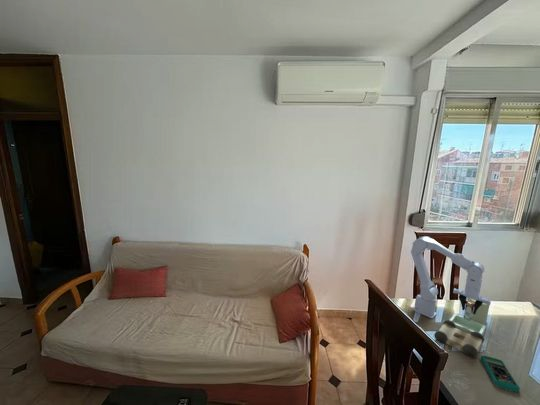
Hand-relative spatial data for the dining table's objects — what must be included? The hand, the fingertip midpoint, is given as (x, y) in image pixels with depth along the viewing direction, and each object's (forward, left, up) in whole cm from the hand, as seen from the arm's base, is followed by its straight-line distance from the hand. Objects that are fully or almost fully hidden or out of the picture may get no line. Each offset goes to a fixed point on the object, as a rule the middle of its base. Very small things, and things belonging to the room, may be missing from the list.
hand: (468, 311), depth 122 cm
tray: (0, 0, -10) cm, 10 cm away
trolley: (0, -14, -10) cm, 17 cm away
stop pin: (0, -1, -4) cm, 4 cm away
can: (+1, +16, -11) cm, 19 cm away
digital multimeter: (+15, -24, -11) cm, 30 cm away
